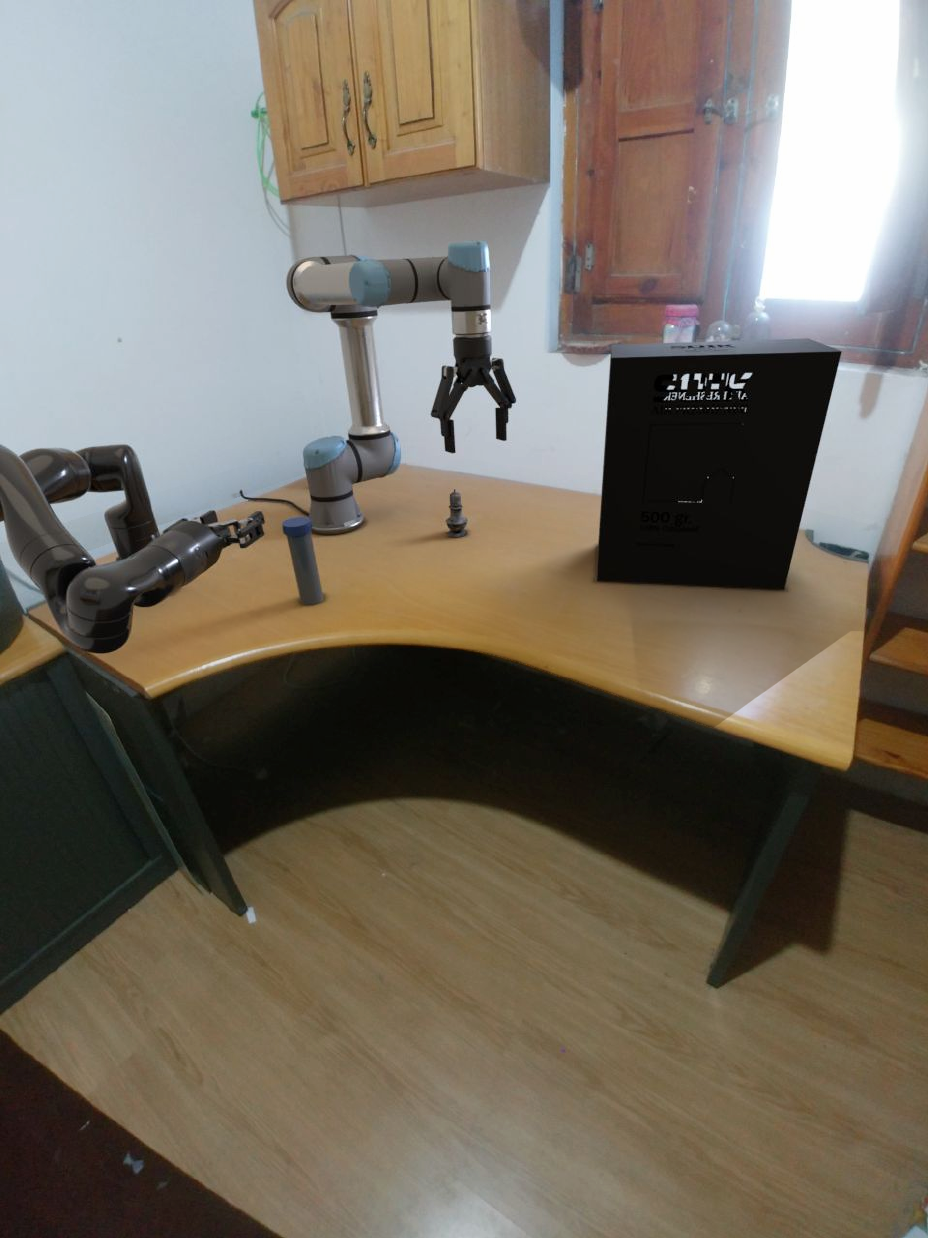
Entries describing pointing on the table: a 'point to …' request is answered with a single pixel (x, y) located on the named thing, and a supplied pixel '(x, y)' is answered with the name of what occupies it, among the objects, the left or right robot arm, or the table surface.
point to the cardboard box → (710, 460)
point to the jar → (305, 569)
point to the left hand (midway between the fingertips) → (237, 516)
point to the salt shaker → (456, 516)
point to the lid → (297, 526)
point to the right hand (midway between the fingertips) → (476, 445)
